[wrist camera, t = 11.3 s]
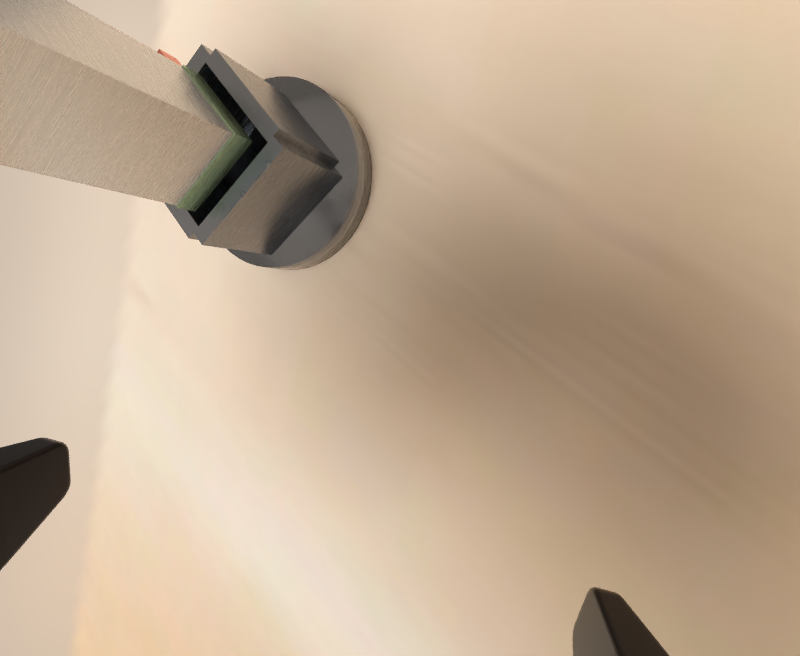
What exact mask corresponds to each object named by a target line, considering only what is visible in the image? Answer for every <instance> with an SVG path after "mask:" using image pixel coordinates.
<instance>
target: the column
mask: <svg viewBox="0 0 800 656" xmlns="http://www.w3.org/2000/svg"><path fill="white" fill-rule="evenodd" d="M251 143H252V140H251V139H250V138H249V136H248V135H247V134H246V132H245V131H244V130H243V129H242V127H241V126H240V125H239V123H238V122H237V121H236V119H235V118H234V117H233V116H232V114H231V113H230V112H229V110H228V109H227V108H226V106H225V105H224V104H223V103H222V101H221V100H220V99H219V97H218V96H217V95H216V93H215V92H214V91H213V90H212V88H211V87H210V86H209V84H208V83H207V82H206V80H205V79H204V78H203V77H202V75H200V74H199V73H197V72H195V71H193V70H192V69H190V68H188V67H186V66H185V65H183V66H181V65H179V64H177V63H175V62H174V61H172V60H170V59H168V58H166V57H165V56H163V55H161V54H159V53H158V52H156V51H154V50H152V49H151V48H149V47H147V46H145V45H144V44H142V43H140V42H138V41H136V40H135V39H133V38H131V37H129V36H128V35H126V34H124V33H122V32H120V31H119V30H117V29H115V28H114V27H112V26H110V25H108V24H107V23H105V22H103V21H101V20H99V19H98V18H96V17H94V16H92V15H90V14H89V13H87V12H85V11H84V10H82V9H80V8H78V7H77V6H75V5H73V4H71V3H69V2H68V1H66V0H0V165H4V166H8V167H13V168H17V169H21V170H26V171H30V172H34V173H39V174H43V175H47V176H51V177H56V178H60V179H64V180H69V181H73V182H77V183H82V184H86V185H91V186H95V187H99V188H103V189H108V190H112V191H117V192H121V193H125V194H129V195H134V196H138V197H142V198H147V199H151V200H155V201H160V202H164V203H168V204H172V205H176V206H177V208H181V209H185V210H189V211H194V212H196V211H197V210H198V208H199V207H200V206H201V205H202V203H203V202H204V201H205V200H206V199H207V197H208V196H209V195H210V194H211V192H212V191H213V190H214V189H215V187H216V186H217V185H218V184H219V182H220V181H221V180H222V179H223V178H224V176H225V175H226V174H227V173H228V171H229V170H230V169H231V168H232V166H233V165H234V164H235V163H236V162H237V160H238V159H239V158H240V157H241V155H242V154H243V153H244V152H245V150H246V149H247V148H248V147H249V145H250V144H251Z"/></svg>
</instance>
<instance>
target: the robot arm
mask: <svg viewBox="0 0 800 656" xmlns="http://www.w3.org/2000/svg"><path fill="white" fill-rule="evenodd" d="M69 487H70V463H69V450H68V447H67V446H66V444H64V443H62V442H59V441H56V440H52V439H48V438H37V439H33V440H29V441H25V442H21V443H17V444H13V445H9V446H5V447H1V448H0V570H1V569H2V568H3V567H4V566H5V565H6V564H7V562H8V561H9V560H10V559H11V558H12V557H13V556H14V554H15V553H16V552H17V551H18V550H19V549H20V548H21V546H22V545H23V544H24V543H25V542H26V541H27V539H28V538H29V537H30V536H31V535H32V533H33V532H34V531H35V530H36V529H37V528H38V527H39V525H40V524H41V523H42V522H43V521H44V520H45V519H46V517H47V516H48V515H49V514H50V513H51V512H52V510H53V509H54V508H55V507H56V506H57V504H58V503H59V502H60V501H61V500H62V499H63V498H64V496H65V495H66V493H67V491H68V489H69ZM573 656H669V655H668V653H667V652H666V651H665V650H664V648H663V647H662V646H661V645H660V644H659V642H658V641H657V640H656V639H655V637H654V636H653V635H652V634H651V632H650V631H649V630H648V629H647V627H646V626H645V625H644V624H643V622H642V621H641V620H640V619H639V617H638V616H637V615H636V614H635V613H634V611H633V610H632V609H631V608H630V606H629V605H628V604H627V603H626V601H625V600H624V599H623V598H622V597H621V596H620V595H619V594H617V593H615V592H611V591H608V590H604V589H600V588H597V587H594V588H591V589H590V590H589V591H588V593H587V595H586V598H585V600H584V603H583V605H582V607H581V610H580V612H579V615H578V617H577V620H576V622H575V625H574V630H573Z"/></svg>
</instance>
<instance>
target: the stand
mask: <svg viewBox="0 0 800 656" xmlns="http://www.w3.org/2000/svg"><path fill="white" fill-rule="evenodd" d="M158 53H159V54H161V55H163V56H165V57H166V58H168V59H170V60H172V61H174V62H175V63H177V64H179V65H181V64H180V62H179V61H178V60H177V59H176V58H174V57H172V56H171V55H169V54H167V53H165V52H164V51H162V50H160V49H159V50H158ZM181 66H182V65H181ZM186 67H188V68H190V69H192V70H193V71H195V72H197V73H199V74H200V75H202V77H203V78H204V79H205V80H206V82H207V83H208V84H209V86H210V87H211V88H212V90H213V91H214V92H215V93H216V95H217V96H218V97H219V99H220V100H221V101H222V103H223V104H224V105H225V106H226V108H227V109H228V110H229V112H230V113H231V114H232V116H233V117H234V118H235V119H236V121H237V122H238V123H239V125H240V126H241V127H242V129H243V130H244V131H245V132H246V134H247V135H248V136H249V138H250V139H251V140H252V143H251V144H250V145H249V147H248V148H247V149H246V150H245V152H244V153H243V154H242V155H241V157H240V158H239V159H238V160H237V162H236V163H235V164H234V165H233V166H232V168H231V169H230V170H229V171H228V173H227V174H226V175H225V176H224V178H223V179H222V180H221V181H220V182H219V184H218V185H217V186H216V187H215V189H214V190H213V191H212V192H211V194H210V195H209V196H208V197H207V199H206V200H205V201H204V202H203V203H202V205H201V206H200V207H199V208H198V210H197V211H196V212H194V211H189V210H185V209H181V208H177V206H176V205H172V204H168V203H165V204H166V206H167V207H168V209H169V210H170V212H171V213H172V215H173V216H174V217H175V219H176V220H177V222H178V223H179V225H180V226H181V228H182V229H183V230H184V232H185V233H186V235H187V236H188V238H190V239H197V240H199V241H200V242H201V244H202V245H207V246H213V247H220V248H227V249H228V250H229V251H230V252H231V253H232V254H234V255H235V256H236V257H238V258H239V259H241V260H243V261H245V262H247V263H250V264H253V265H256V266H262V267H270V268H279V269H302V268H307V267H310V266H314V265H316V264H318V263H320V262H323V261H325V260H326V259H328V258H329V257H331V256H332V255H334V254H335V253H336V252H337V251H338V250H339V249H340V248H342V247H343V246H344V244H345V243H346V242H347V241H348V240H349V239H350V237H351V236H352V234H353V233H354V231H355V230H356V228H357V227H358V225H359V223H360V221H361V219H362V217H363V214H364V212H365V209H366V206H367V203H368V199H369V195H370V188H371V176H372V167H371V158H370V152H369V148H368V144H367V141H366V138H365V136H364V133H363V131H362V129H361V127H360V126H359V124H358V122H357V121H356V119H355V118H354V117H353V115H352V114H351V113H350V112H349V111H348V110H347V109H346V108H345V107H344V106H343V105H342V104H340V103H339V102H338V101H336V100H335V99H334V98H333V97H331V96H330V95H329V94H327V93H326V92H325V91H323V90H322V89H321V88H319V87H318V86H316V85H314V84H313V83H311V82H309V81H306V80H303V79H300V78H295V77H274V78H268V79H265V80H263V79H261V78H259V77H258V76H256V75H255V74H253V73H252V72H250V71H249V70H247V69H246V68H244V67H243V66H241V65H240V64H238V63H237V62H235V61H234V60H232V59H231V58H229V57H228V56H226V55H225V54H223V53H222V52H220V51H219V50H217V49H215V50H214V51H211V50H210V49H208V48H207V47H205V46H204V45H202V44H201V46H200V47H199V49H198V50H197V51H196V53H195V54H194V56H193V57H192V58H191V60H190V61H189V63H188V64H187V66H186Z"/></svg>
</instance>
